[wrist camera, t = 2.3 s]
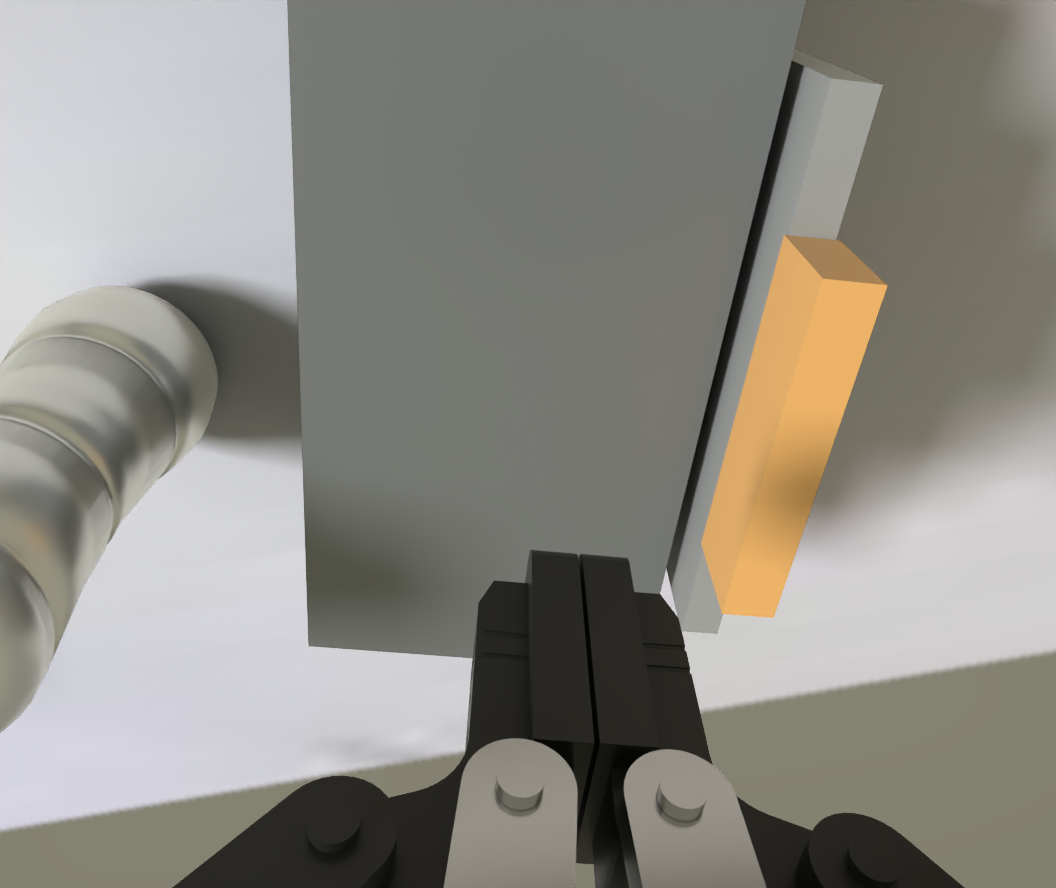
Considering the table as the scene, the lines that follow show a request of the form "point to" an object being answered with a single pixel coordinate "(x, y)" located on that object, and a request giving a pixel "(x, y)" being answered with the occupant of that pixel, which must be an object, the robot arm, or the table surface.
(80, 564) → the plastic bottle
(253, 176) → the table surface
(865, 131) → the side door
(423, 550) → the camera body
